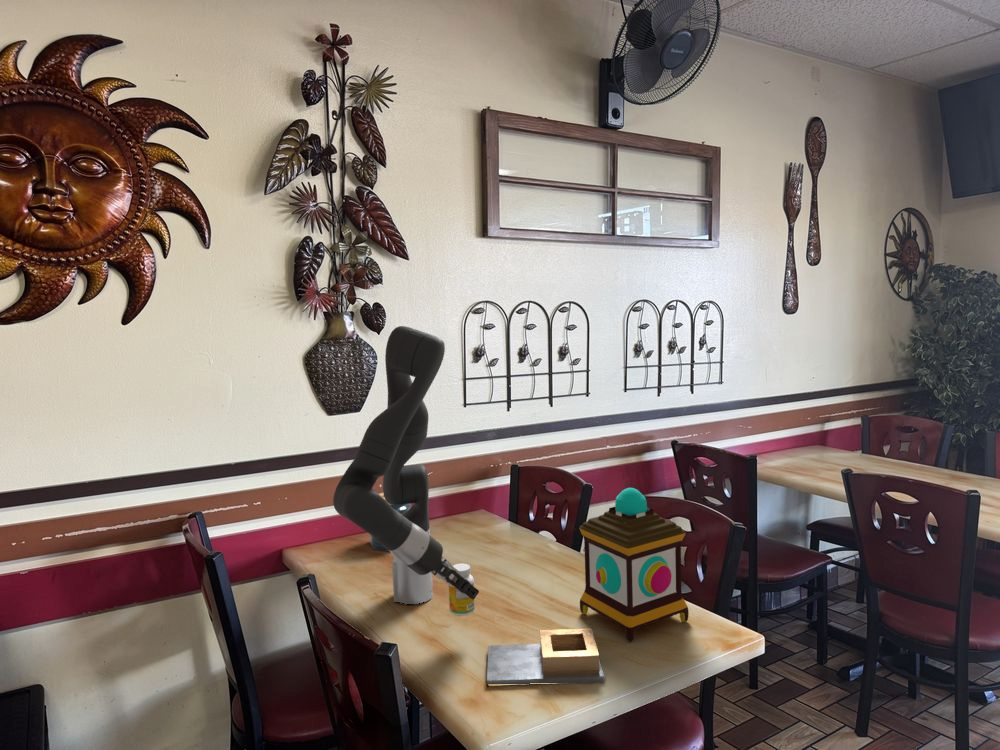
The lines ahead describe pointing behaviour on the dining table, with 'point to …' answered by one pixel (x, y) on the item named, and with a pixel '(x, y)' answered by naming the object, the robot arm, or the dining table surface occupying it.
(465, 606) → the supplement bottle
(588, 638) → the jig
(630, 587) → the decorative lantern
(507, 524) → the dining table surface
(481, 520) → the dining table surface
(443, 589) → the dining table surface
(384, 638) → the dining table surface
